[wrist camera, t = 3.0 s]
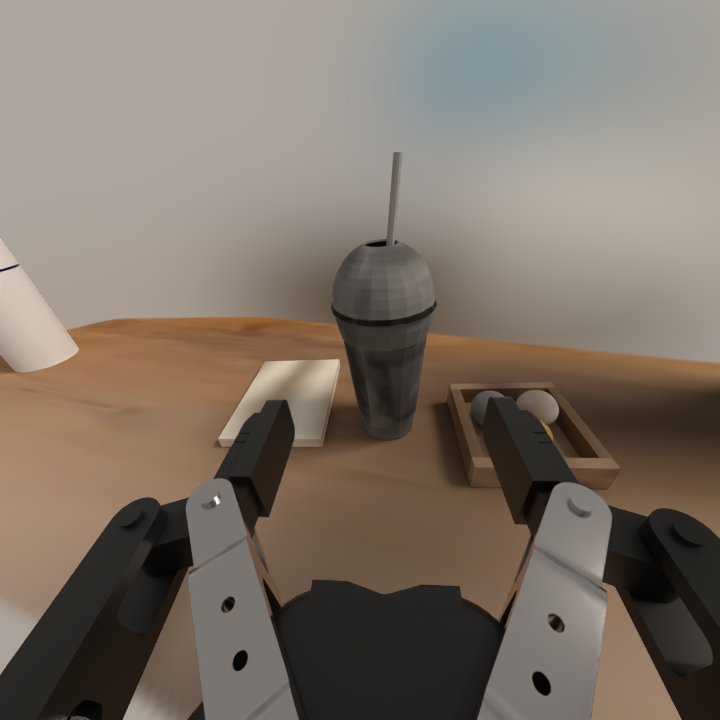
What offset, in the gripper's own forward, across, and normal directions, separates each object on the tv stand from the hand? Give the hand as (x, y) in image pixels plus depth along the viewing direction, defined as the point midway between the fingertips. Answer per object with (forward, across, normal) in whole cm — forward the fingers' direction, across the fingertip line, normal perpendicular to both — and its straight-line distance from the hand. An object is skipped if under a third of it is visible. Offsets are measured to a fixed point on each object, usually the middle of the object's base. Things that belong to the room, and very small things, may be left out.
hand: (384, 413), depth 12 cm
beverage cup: (+10, 0, +11) cm, 15 cm away
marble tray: (+8, -10, +11) cm, 17 cm away
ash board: (+14, +10, +11) cm, 20 cm away
